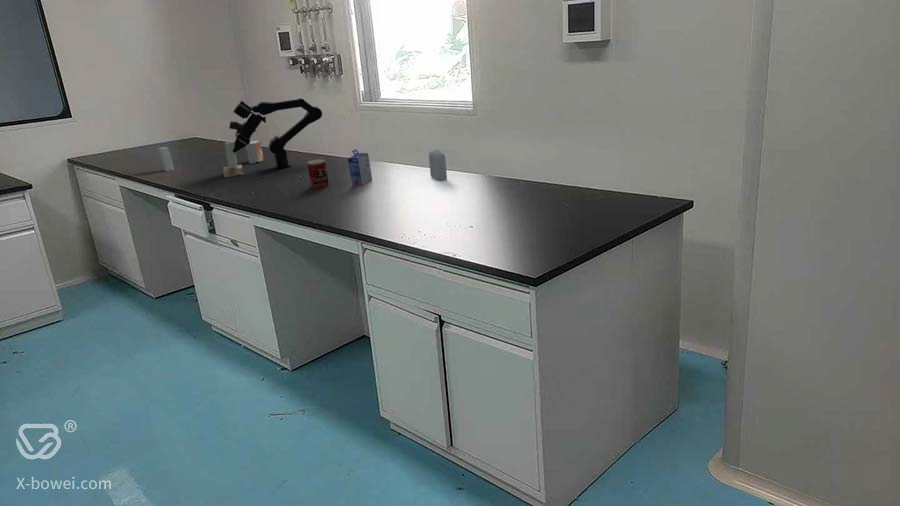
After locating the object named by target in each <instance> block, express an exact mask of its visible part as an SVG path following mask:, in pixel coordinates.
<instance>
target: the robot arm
mask: <svg viewBox="0 0 900 506" xmlns="http://www.w3.org/2000/svg"><path fill="white" fill-rule="evenodd" d="M296 108H302V110H304V111H306V113H305V114H304V116H303V117H302V118H301V119H300V120H299V121H297V122H296V123H295V124H294V125H293V126H291V128H289V129H288V130H287V131H285V133H283V134H282V135H280V136H278V135H275V136H274V137H273V138H272V139H269V141H270V142H269V143H268V149H269V151H270V152H271V153H272V154H274V161H275V166H273V168H274V169H278V168H280V170H281V168H282V169H286V168H289V167H292V165H291V164H289V159H288V155H287V154H288V151H287V150H286V148H285V146H286V145H287V143H289V142H290V141H291V140H292V139H293V138H294V137H296V136H297V135H298V134H299V133H300V132H302V130H304V129H305V128H306V127H307V126H309V125H310V124H312V123H314V122H317V121H318V120H320V119H322V117H323V112H322V109H321V108H319V107H317V106H312V105H311V104H310V103H309V102H307V101H306V100H305V99H304V98H297V99H290V100H289V99H288V100H282V101H277V102H274V101H273V102H271V101H260V102H258V103H257V104H256V105H255V106H249V104H247V103H246V102H245V101H243V100H241V101H240V102H239V103H238V104H237V105H236V106H235V108H234V109H233V113H234V114H235V115H236V116H238V117H240V118H241V119H242V120H244V119H245V120H246V119H247V120H246V121H245V122H243V123H240V122H238V121H230V123H229V128H228V129H230V130H236V131H235V134H234V135H235V140H234V146H235V147H234V149H233V152H234V153H237V152H239V151H240V150H242V149H243V148H246V146H247V145H249V143H250V141H251V138H252V136H253V134H255V132H256V131H257V128H258V127H259V126H260V125H261V123H262V122H264V123H265V124H266V123H267V121H266V115H269V114H272V113H274V112H277V111H283V110H289V109H296ZM256 113H257V114H256Z"/></svg>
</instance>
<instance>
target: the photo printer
mask: <svg viewBox="0 0 900 506" xmlns="http://www.w3.org/2000/svg"><path fill="white" fill-rule="evenodd" d="M428 161H429V170H430V177H431V178H433V179H434V180H437V181H440V182H445V181H446V180H447V179H448V175H447V162H446V155H445V154H444V153H443V152H442V151H441V150H440V149H431V150H430V151H429V152H428Z"/></svg>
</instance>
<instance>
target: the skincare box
mask: <svg viewBox="0 0 900 506" xmlns="http://www.w3.org/2000/svg"><path fill="white" fill-rule="evenodd" d="M157 152H158V155H159V159H160V162H161V166H162V169H163V171H165V172H171V171H170V170H172V171H175V167H174V163H173V159H172V156H171V152H170V149H169V147H167V146H163V147H157Z"/></svg>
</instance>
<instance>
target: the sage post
mask: <svg viewBox="0 0 900 506" xmlns="http://www.w3.org/2000/svg"><path fill="white" fill-rule="evenodd" d="M234 143H235V141H226V142H224V145H225V153H226V161H227V167H228V169H229V168H237V165H238V161H237V155H236V153H237V152H235V153H234V152H233V149H234V147H235V146H234Z"/></svg>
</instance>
